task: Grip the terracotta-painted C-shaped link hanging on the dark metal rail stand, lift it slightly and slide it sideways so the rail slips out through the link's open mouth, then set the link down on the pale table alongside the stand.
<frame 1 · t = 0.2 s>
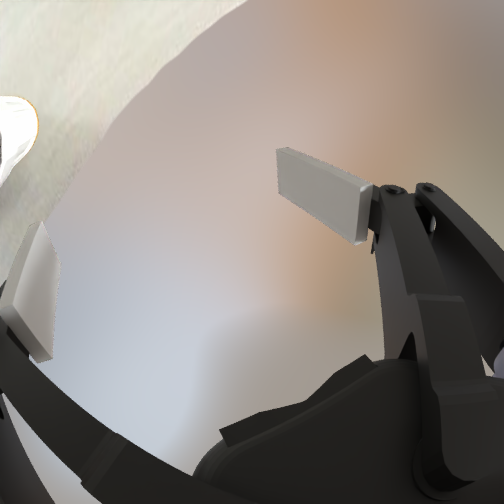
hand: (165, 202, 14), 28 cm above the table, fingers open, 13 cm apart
cup: (11, 129, 27), on the table
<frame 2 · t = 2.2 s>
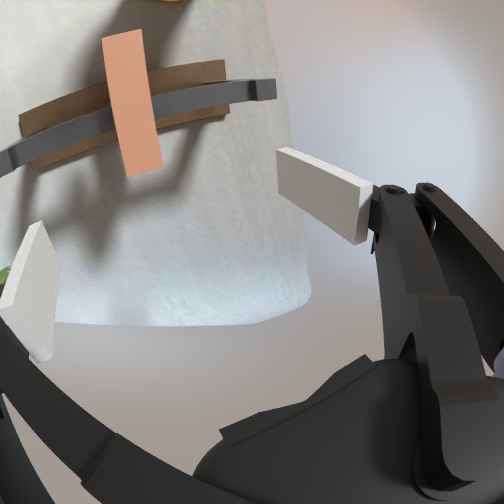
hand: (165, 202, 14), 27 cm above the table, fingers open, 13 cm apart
c link: (124, 100, 27), point 5 cm above the table, touching stand
stand: (123, 107, 32), on the table
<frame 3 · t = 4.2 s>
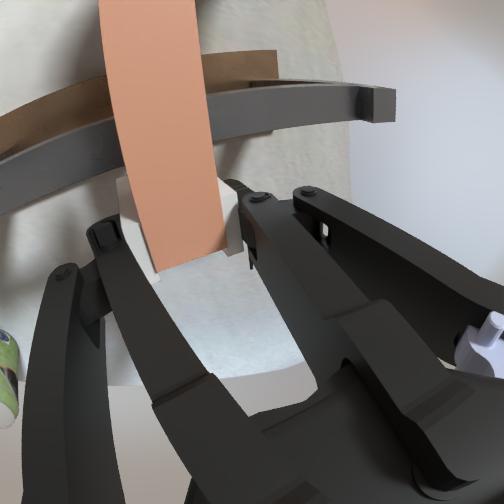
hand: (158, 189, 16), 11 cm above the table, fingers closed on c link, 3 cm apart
beverage can: (1, 337, 25), on the table
c link: (134, 102, 17), point 6 cm above the table, touching gripper, stand
stand: (131, 112, 22), on the table
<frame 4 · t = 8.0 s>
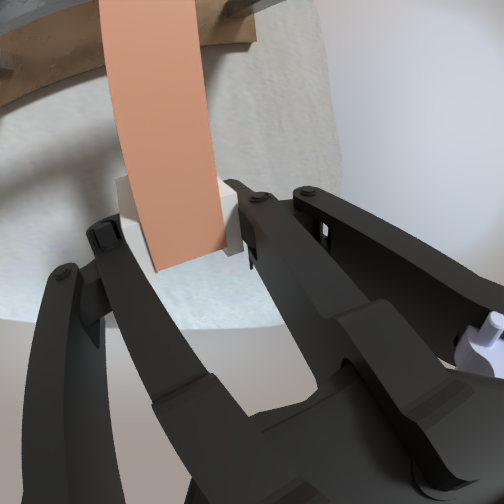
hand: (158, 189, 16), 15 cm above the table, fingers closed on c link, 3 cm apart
c link: (134, 102, 17), point 10 cm above the table, touching gripper
stand: (118, 26, 20), on the table
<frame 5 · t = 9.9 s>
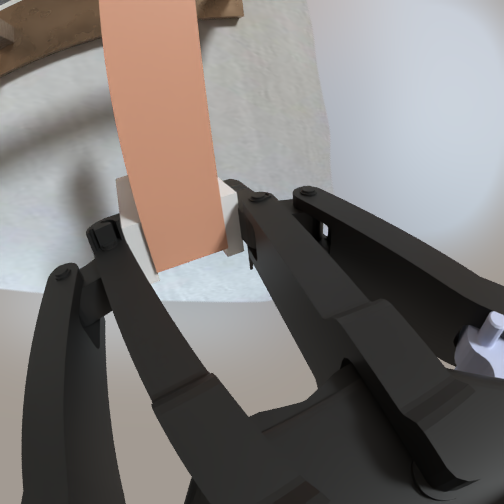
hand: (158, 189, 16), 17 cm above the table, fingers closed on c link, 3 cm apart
c link: (134, 103, 17), point 12 cm above the table, touching gripper
stand: (113, 3, 19), on the table
when the fingers open (6 cm above the table, at t = 11.6 s): c link stays where it is, on the table.
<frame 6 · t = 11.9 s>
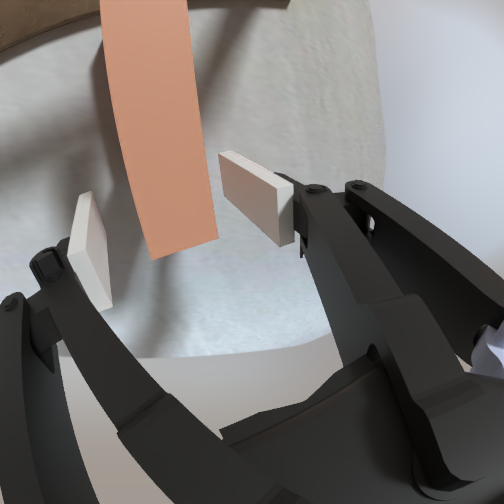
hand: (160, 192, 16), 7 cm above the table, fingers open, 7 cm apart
c link: (133, 103, 18), on the table
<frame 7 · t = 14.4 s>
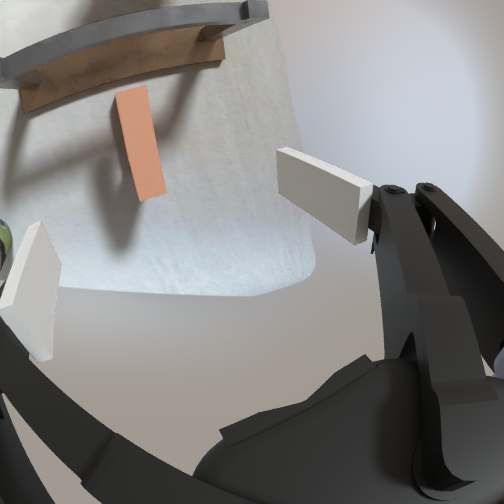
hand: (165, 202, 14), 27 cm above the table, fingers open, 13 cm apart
c link: (133, 132, 35), on the table
stand: (119, 51, 29), on the table
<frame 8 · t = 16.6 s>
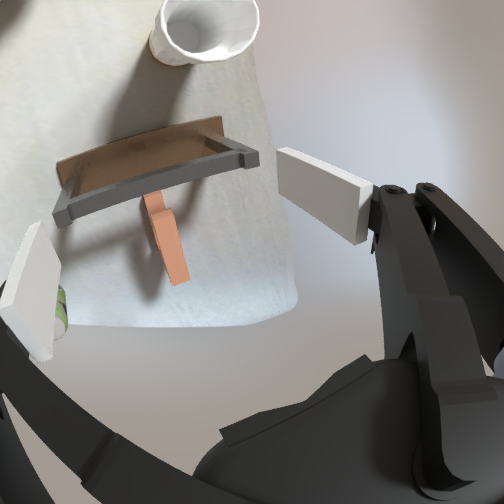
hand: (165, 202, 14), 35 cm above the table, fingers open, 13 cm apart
cup: (176, 40, 37), on the table
beverage can: (53, 289, 47), on the table
c link: (158, 220, 51), on the table
stand: (142, 157, 44), on the table
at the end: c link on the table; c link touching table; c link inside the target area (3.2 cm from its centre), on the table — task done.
